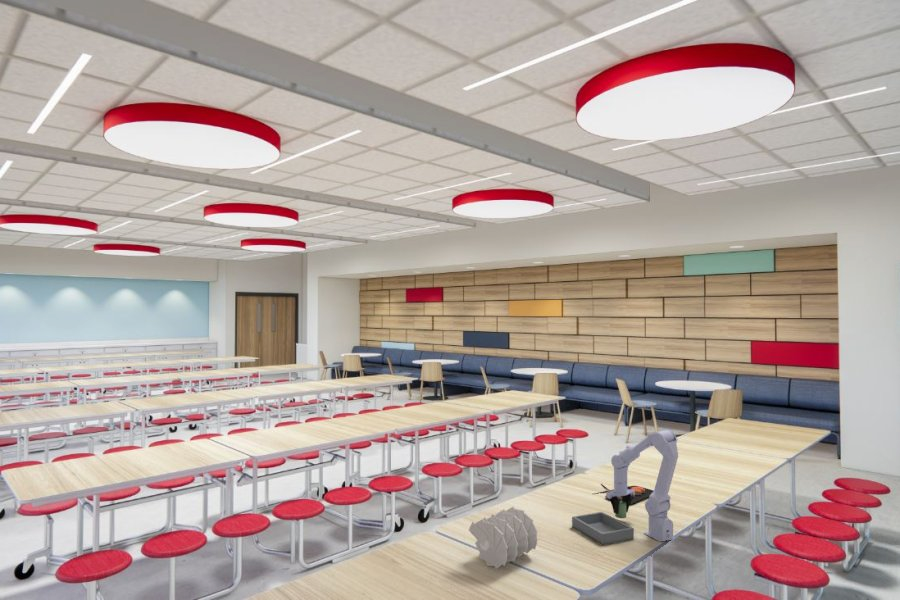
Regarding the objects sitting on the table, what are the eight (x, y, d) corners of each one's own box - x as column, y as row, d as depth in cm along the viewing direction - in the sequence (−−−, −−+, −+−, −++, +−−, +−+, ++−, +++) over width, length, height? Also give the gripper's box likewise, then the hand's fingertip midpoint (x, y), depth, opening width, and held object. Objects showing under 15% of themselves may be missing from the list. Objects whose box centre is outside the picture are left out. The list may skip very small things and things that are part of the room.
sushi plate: (629, 508, 258) (629, 500, 258) (576, 492, 280) (576, 485, 280) (658, 495, 277) (658, 487, 277) (607, 481, 299) (607, 474, 299)
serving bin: (633, 539, 220) (633, 528, 220) (602, 545, 214) (602, 534, 214) (601, 521, 238) (601, 511, 239) (572, 527, 232) (572, 516, 232)
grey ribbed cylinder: (532, 563, 206) (492, 583, 188) (500, 531, 218) (459, 547, 200) (551, 525, 202) (512, 541, 184) (518, 494, 213) (477, 507, 195)
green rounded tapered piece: (628, 517, 238) (628, 503, 238) (620, 518, 236) (620, 505, 236) (621, 513, 242) (621, 500, 242) (612, 515, 240) (612, 501, 240)
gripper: (627, 477, 246) (627, 507, 245) (601, 481, 240) (601, 511, 240) (638, 481, 239) (638, 512, 239) (612, 485, 234) (612, 517, 233)
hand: (620, 512), depth 239 cm, fingers closed on green rounded tapered piece, 5 cm apart
